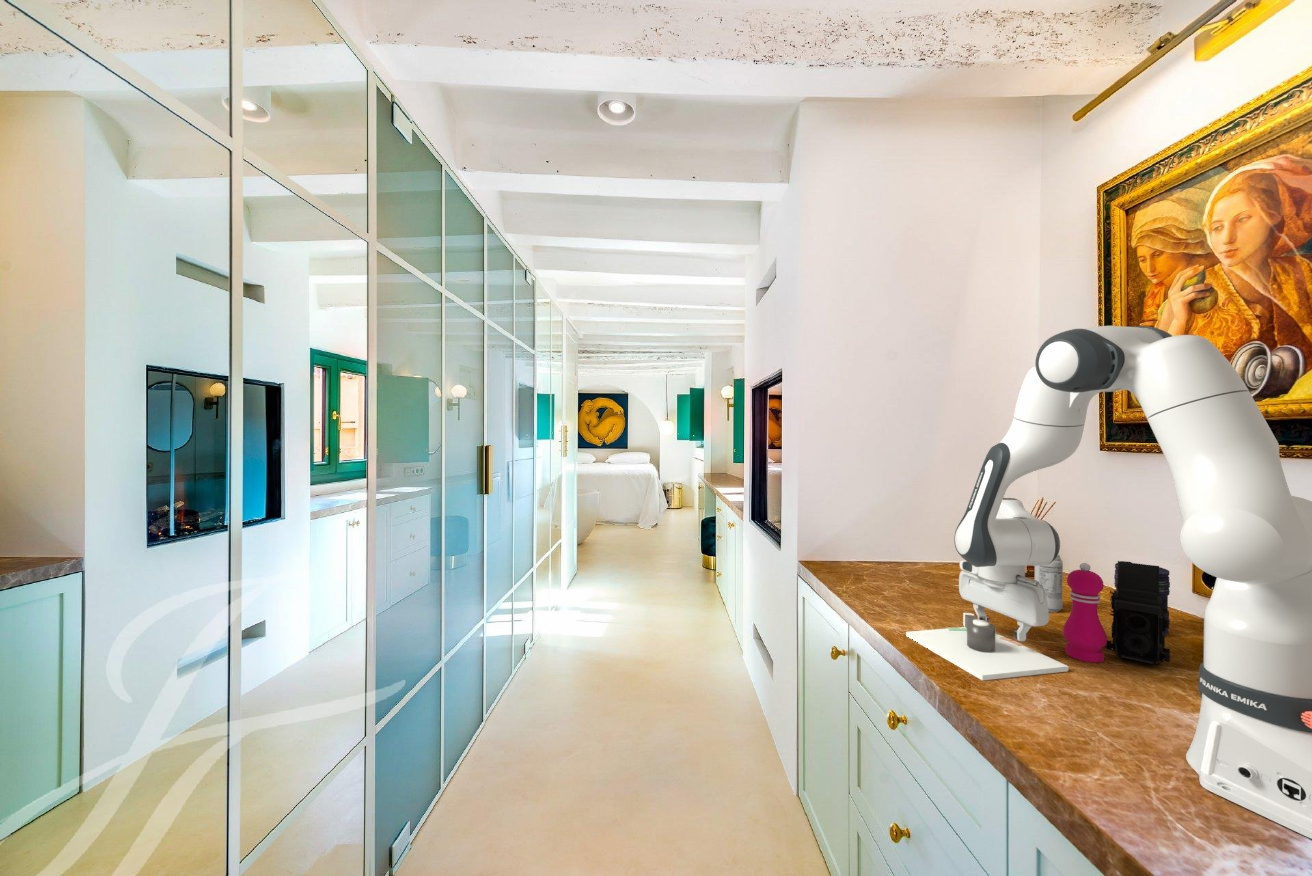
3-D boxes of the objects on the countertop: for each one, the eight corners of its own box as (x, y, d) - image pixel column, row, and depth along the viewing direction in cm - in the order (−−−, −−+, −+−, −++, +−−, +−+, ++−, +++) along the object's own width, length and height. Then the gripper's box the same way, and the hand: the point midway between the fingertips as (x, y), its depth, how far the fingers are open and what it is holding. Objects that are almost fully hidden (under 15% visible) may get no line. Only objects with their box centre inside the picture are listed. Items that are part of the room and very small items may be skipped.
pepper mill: (1115, 665, 105) (1116, 568, 105) (1075, 662, 107) (1075, 566, 107) (1093, 650, 112) (1093, 559, 112) (1055, 648, 114) (1056, 558, 114)
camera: (1104, 662, 107) (1105, 565, 107) (1107, 642, 117) (1108, 554, 117) (1172, 677, 100) (1173, 574, 100) (1169, 655, 110) (1170, 561, 110)
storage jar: (1182, 637, 120) (1182, 573, 120) (1139, 636, 120) (1139, 573, 120) (1142, 621, 130) (1143, 562, 130) (1102, 621, 130) (1103, 562, 130)
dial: (998, 653, 108) (998, 627, 108) (970, 650, 110) (970, 624, 110) (980, 630, 121) (980, 607, 121) (955, 628, 122) (955, 605, 122)
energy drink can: (1060, 607, 140) (1061, 552, 140) (1063, 614, 135) (1064, 557, 135) (1033, 603, 143) (1033, 550, 143) (1035, 610, 138) (1035, 554, 138)
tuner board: (1069, 671, 103) (1069, 665, 103) (982, 680, 99) (982, 674, 99) (979, 629, 125) (979, 624, 125) (905, 635, 121) (905, 630, 121)
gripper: (1057, 581, 105) (1057, 649, 105) (976, 558, 125) (976, 615, 125) (1031, 583, 104) (1031, 652, 104) (953, 560, 124) (954, 617, 124)
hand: (1000, 631), depth 115 cm, fingers open, 8 cm apart
